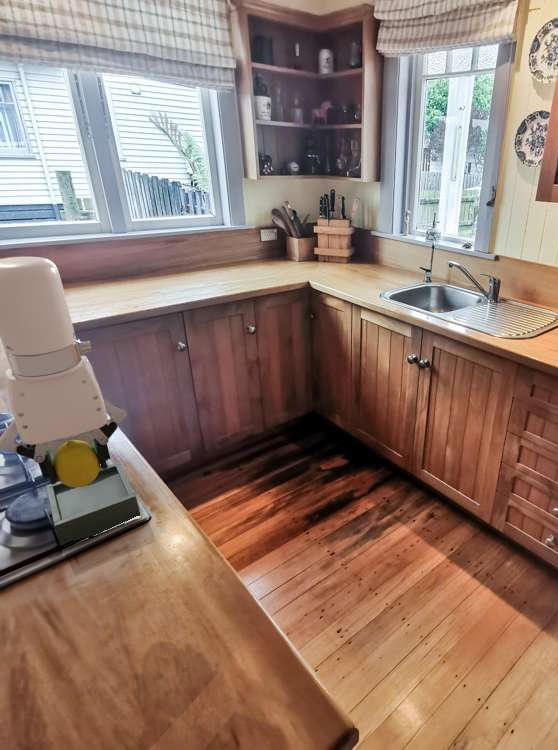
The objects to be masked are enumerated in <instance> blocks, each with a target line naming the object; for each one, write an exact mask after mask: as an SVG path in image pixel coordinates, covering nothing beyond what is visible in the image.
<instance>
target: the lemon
mask: <svg viewBox="0 0 558 750" xmlns="http://www.w3.org/2000/svg"><path fill="white" fill-rule="evenodd" d="M53 466H54V471H55V474H56V476H57V480H58V481H61V482H62V483H63V484H65V485H67V486H69V487H85V486H86V485H88V484H89V483H91V482H92V481H93V480H94V479H95V478H96V477H97V475H98V473H99V470H100V460H99V457H98V454H97V452H96V451H95V449H94V448H93V447H92V446H91V445H90V444H89V443H87V442H85V441H81V440H70V441H68V442H66V443H64V444H63V445H62V446H60V447H59V448H58V450H57V451H56V453H55V455H54V459H53Z"/></svg>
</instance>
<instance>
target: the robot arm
mask: <svg viewBox="0 0 558 750" xmlns="http://www.w3.org/2000/svg"><path fill="white" fill-rule="evenodd" d="M59 271H60V270H59V269H58V267H57V266H56V264H55V263H54V262H53V261H51V260H50V259H48V258H45V257H39V256H11V257H4V258H0V341H1V344H2V346H3V350H4V353H5V356H6V359H7V361H8V362H7V363H8V365H9V368H8V369H6V371H5V384H6V392H7V395H8V396H7V397H8V401H9V404H10V409H11V412H12V417H13V419H12V420H11V422H10V423H9V424H8V426H7V427H6V429H5V430H4V432H2V434H1V436H0V450H3V451H7V452H11V453H15V454H17V455H18V456H22V457H24V458H28V459H31V460H33V461H34V462H35V463H37V464H38V467H39V470H40V473H41V475H42V479H46V478H49V480H50V481H49V482H50V484H52V485H53V484H56V483H57V482H58V481H59V480H58V478H57V476H56V474H55V471H54V466H53V462H52V459H51V456H50V453H49V451H47V450H46V449H47V443H48V442H50V441H54V440H58V439H62V438H65V437H69V436H73V435H77V434H81V433H85V432H88V431H89V432H90V433H91V434H92V435H93V436H94V438H95V439H94V443H95V447H96V450H97V454H98V457H99V460H100V464H101V467H102V469H103V468H104V469H106V468H108V467H107V466H108V464H107V462H106V460H107V461H108V460H111V459H112V458H111V454H110V450H109V446H108V443H109V441H110V438H111V437H112V436H113V435H114V433H115V432H116V431H117V430H118V427H119V425H121V424H122V423H123V422H124V421H125V419H127V417H128V412H127V411H126V409H125V408H123V407H121V406H120V405H117V404H116V403H114V402H112V401H110V400H108V399H106V398H104V397H103V393H102V390H101V388H100V385H99V382H98V378H97V376H96V373H95V371H94V369H93V366H92V364H91V363H90V361H89V359H88V357H87V356H85V355H84V354H86V353H87V352H88V353H89V352H92V351H93V348H92V344H91V341H90V340H87V341H83V340H81V341H80V339H77V336H76V332H75V329H74V324H73V320H72V317H71V313H70V310H69V306H68V302H67V297H66V294H65V290H64V286H63V282H62V278H61V275H60V272H59ZM108 414H109V415H110V416H111V417H110V418H108ZM18 436H19V437H20V440H21V441H19V440H18V439H17V437H18Z"/></svg>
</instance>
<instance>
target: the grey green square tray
mask: <svg viewBox="0 0 558 750" xmlns="http://www.w3.org/2000/svg"><path fill="white" fill-rule="evenodd" d="M107 467H108V468H106V469H104V468H103V469H102V468H100V470H99V473H98V475H97V477H96V478H95V479H94V480H93V481H92V482H91V483H89V484H88V485H86V486H85V487H69V486H67V485H65V484H63V483H62V482H61V481H60V480H57V481H58V482H57V483H56V484H53V485H52V484H51V483H49V484H46V485H45V489H46V494H47V499H48V504H49V508H50V512H51V518H52V522H53V527H54V529H55V532H56V534H57V538H58V540H59V542H60V545H61V544H65V543H67V542H69V541H72V540H76V539H81V538H85V537H89V536H92V535H96V534H99V533H101V532H103V531H104V530H108V529H110V528H112V527H114V526H116V525H118V524H121V523H123V522H125V521H128V520H130V519H132V518H134V517H136V516H140V515H141V514H142V513H141V511H140V506H139V502H138V499H137V495H136V493H135V491H134V488H133V486H132V484H131V482H130V480H129V478H128V475H127V474H126V471H125V469H124V467H123V464H122V462H121V461H117V462H114V463H111V464H109V465H108V464H107ZM141 516H142V515H141ZM99 535H100V534H99Z"/></svg>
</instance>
